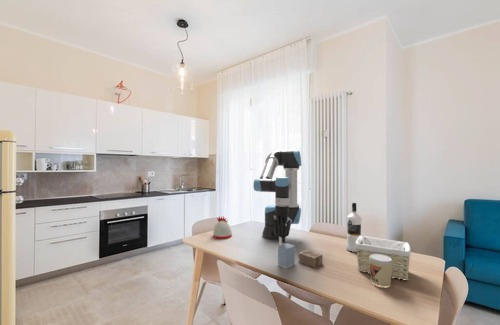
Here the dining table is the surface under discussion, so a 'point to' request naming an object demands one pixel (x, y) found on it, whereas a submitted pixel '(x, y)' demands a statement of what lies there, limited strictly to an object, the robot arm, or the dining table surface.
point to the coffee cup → (380, 269)
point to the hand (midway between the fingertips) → (281, 248)
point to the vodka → (353, 229)
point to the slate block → (286, 255)
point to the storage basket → (384, 247)
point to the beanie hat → (222, 229)
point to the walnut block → (310, 258)
